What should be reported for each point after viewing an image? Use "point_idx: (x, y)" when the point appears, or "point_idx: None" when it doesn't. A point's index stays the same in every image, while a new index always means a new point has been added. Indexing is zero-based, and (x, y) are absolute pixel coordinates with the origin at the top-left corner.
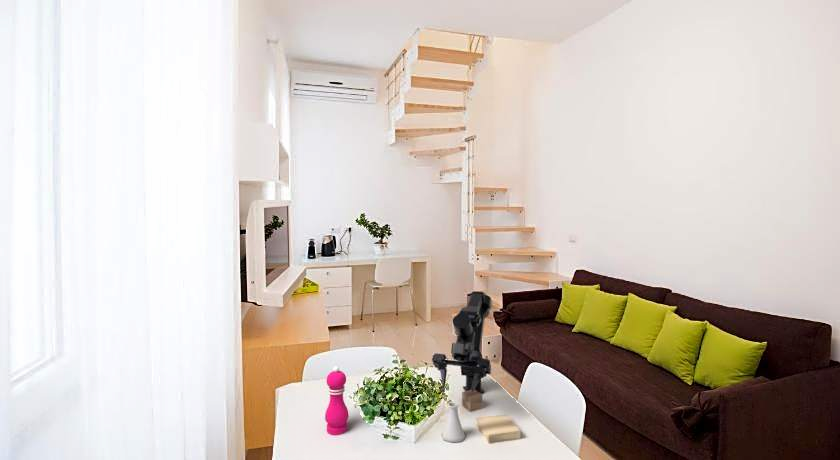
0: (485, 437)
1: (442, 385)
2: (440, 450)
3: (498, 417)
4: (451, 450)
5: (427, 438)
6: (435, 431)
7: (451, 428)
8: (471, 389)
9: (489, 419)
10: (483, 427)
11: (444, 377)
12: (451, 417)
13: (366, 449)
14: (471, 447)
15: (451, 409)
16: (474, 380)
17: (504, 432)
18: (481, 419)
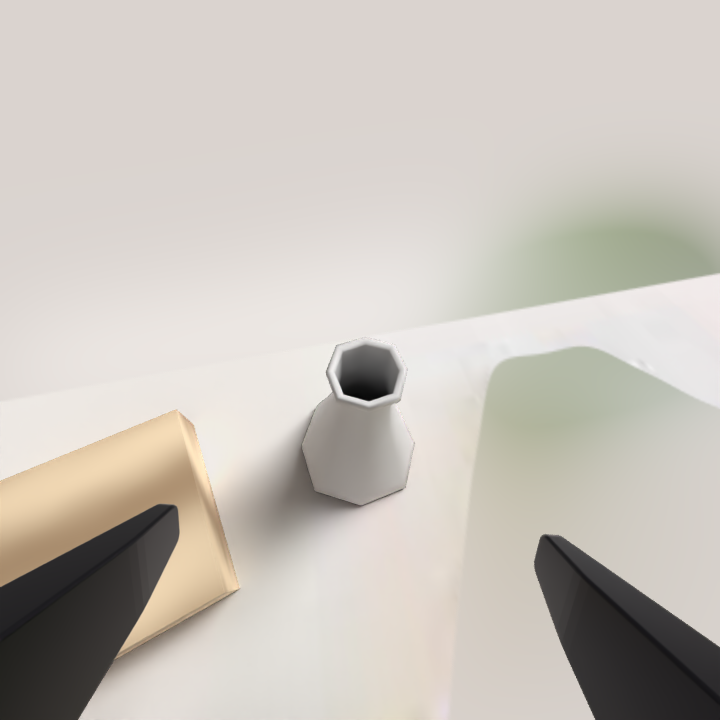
0: (201, 461)
1: (565, 540)
2: None
3: None
4: None
5: (463, 405)
6: (450, 470)
7: (362, 387)
8: (168, 506)
9: None
10: (193, 476)
11: (649, 659)
12: (368, 377)
13: (627, 304)
14: (273, 382)
15: (372, 359)
16: (20, 594)
17: (83, 450)
18: (191, 580)
